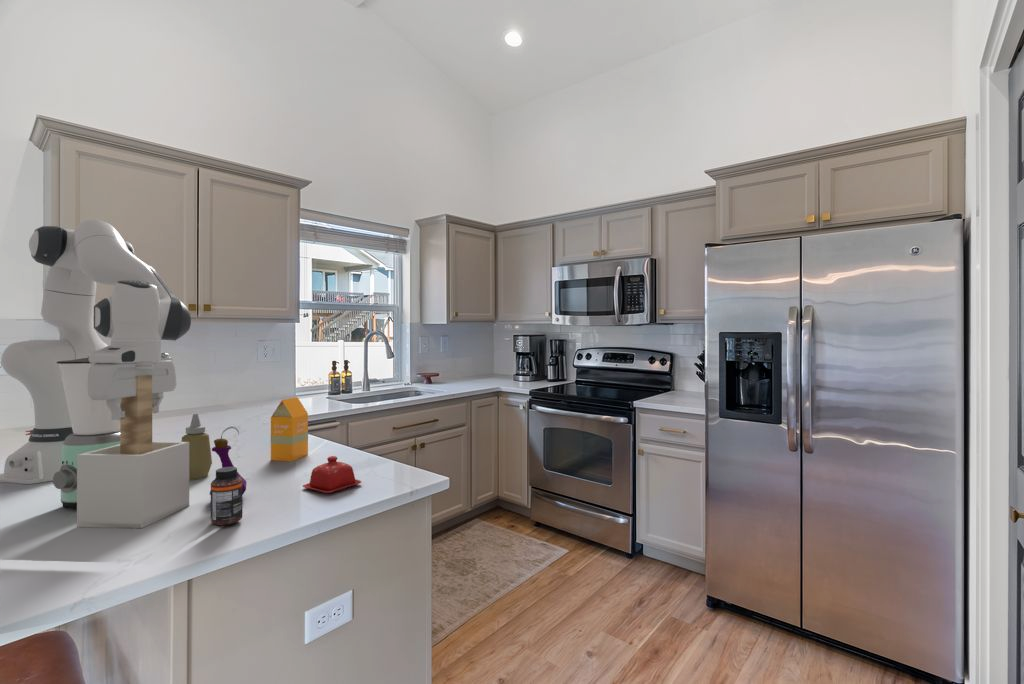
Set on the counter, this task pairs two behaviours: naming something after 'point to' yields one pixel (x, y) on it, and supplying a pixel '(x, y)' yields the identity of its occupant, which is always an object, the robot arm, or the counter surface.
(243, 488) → the potion bottle
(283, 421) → the orange juice
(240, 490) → the supplement bottle
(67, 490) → the blender
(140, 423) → the long wooden block
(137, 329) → the robot arm
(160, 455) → the bin
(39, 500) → the counter surface
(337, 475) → the butter dish
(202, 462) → the squeeze bottle
